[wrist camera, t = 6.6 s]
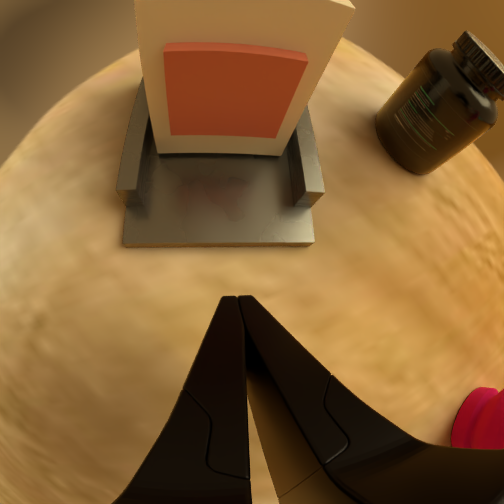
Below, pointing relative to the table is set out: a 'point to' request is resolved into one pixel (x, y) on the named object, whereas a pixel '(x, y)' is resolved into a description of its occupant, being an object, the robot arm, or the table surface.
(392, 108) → the supplement bottle
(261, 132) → the cream block orange label
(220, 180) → the press stand
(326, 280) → the table surface
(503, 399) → the pepper mill
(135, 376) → the table surface
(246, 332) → the robot arm
